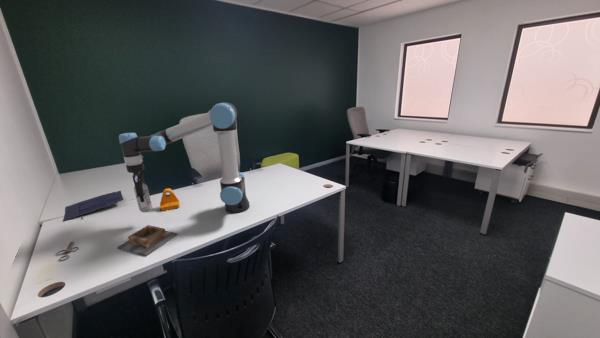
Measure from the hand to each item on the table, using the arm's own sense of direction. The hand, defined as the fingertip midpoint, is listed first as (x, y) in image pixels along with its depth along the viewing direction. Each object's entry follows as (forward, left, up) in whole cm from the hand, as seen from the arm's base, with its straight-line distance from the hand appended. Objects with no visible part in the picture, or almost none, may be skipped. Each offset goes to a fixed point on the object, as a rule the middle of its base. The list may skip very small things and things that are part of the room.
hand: (144, 204), depth 131 cm
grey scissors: (+17, +29, -13) cm, 36 cm away
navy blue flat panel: (+53, -6, -13) cm, 55 cm away
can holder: (-14, +12, -12) cm, 22 cm away
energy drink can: (0, 0, -4) cm, 4 cm away
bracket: (+5, -20, -13) cm, 24 cm away
